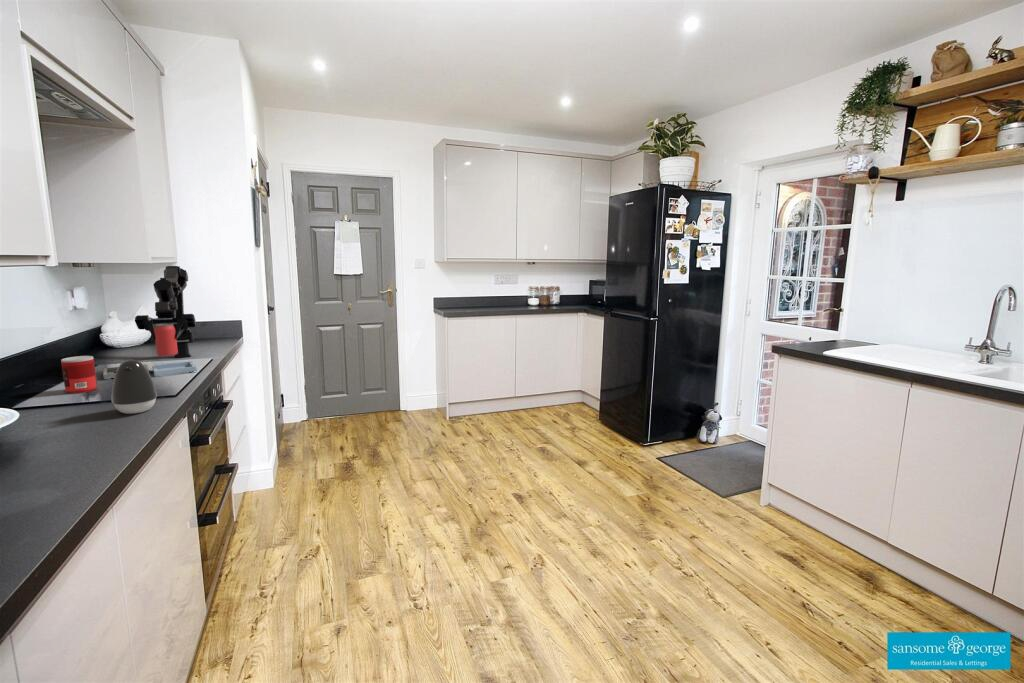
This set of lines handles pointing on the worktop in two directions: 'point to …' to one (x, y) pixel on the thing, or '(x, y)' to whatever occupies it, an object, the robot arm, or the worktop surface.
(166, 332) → the beer can
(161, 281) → the robot arm
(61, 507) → the worktop surface
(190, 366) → the tray
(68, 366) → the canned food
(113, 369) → the bay frame
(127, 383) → the grey egg-shaped dome
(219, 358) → the worktop surface
